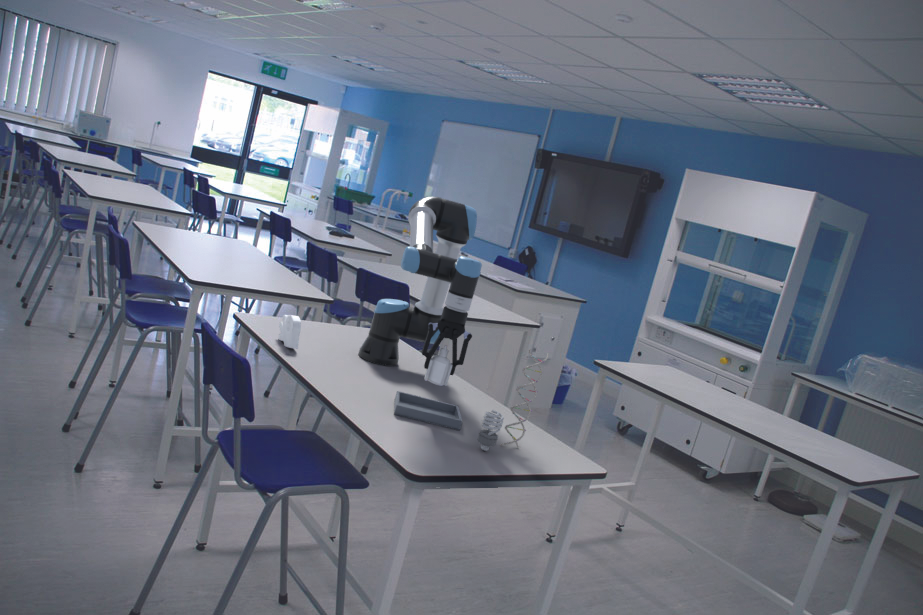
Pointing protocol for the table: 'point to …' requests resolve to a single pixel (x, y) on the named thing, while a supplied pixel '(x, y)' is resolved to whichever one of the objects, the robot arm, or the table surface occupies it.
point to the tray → (427, 410)
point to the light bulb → (488, 436)
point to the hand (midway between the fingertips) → (435, 381)
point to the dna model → (525, 400)
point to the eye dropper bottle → (439, 368)
